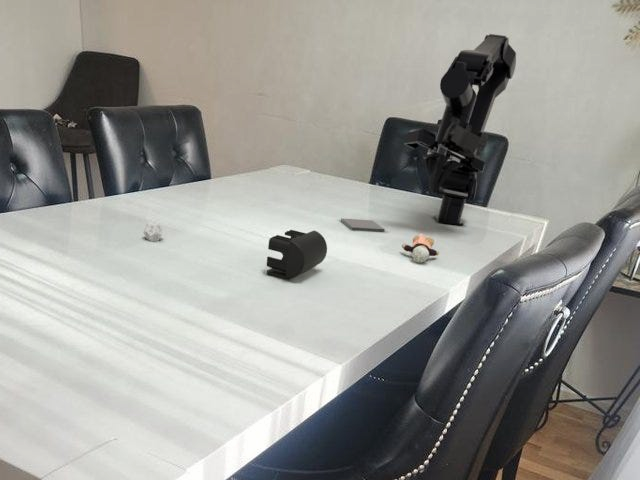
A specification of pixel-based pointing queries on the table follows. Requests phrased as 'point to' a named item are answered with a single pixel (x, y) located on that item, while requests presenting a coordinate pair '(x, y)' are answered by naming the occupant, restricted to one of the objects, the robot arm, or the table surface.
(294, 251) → the end cap
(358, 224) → the slate coaster
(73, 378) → the table surface
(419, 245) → the grandmother figurine
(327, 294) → the table surface
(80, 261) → the table surface
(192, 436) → the table surface
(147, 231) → the whitish grey rough lump
